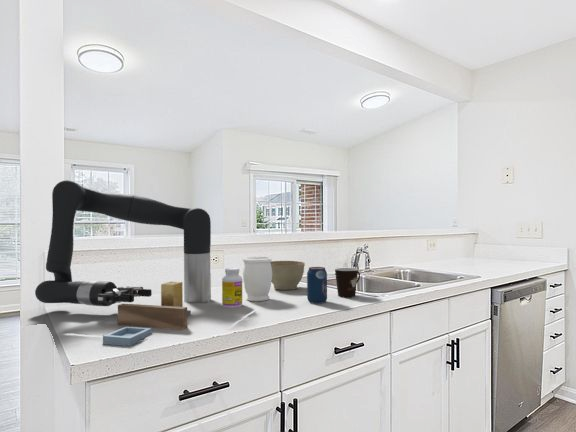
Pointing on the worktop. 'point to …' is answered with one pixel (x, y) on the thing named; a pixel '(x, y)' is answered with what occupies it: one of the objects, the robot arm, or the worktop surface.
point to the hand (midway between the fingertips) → (142, 295)
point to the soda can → (317, 285)
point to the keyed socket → (126, 336)
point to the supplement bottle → (232, 288)
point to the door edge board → (152, 316)
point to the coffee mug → (346, 281)
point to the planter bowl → (286, 274)
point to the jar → (257, 278)
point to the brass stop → (171, 294)
